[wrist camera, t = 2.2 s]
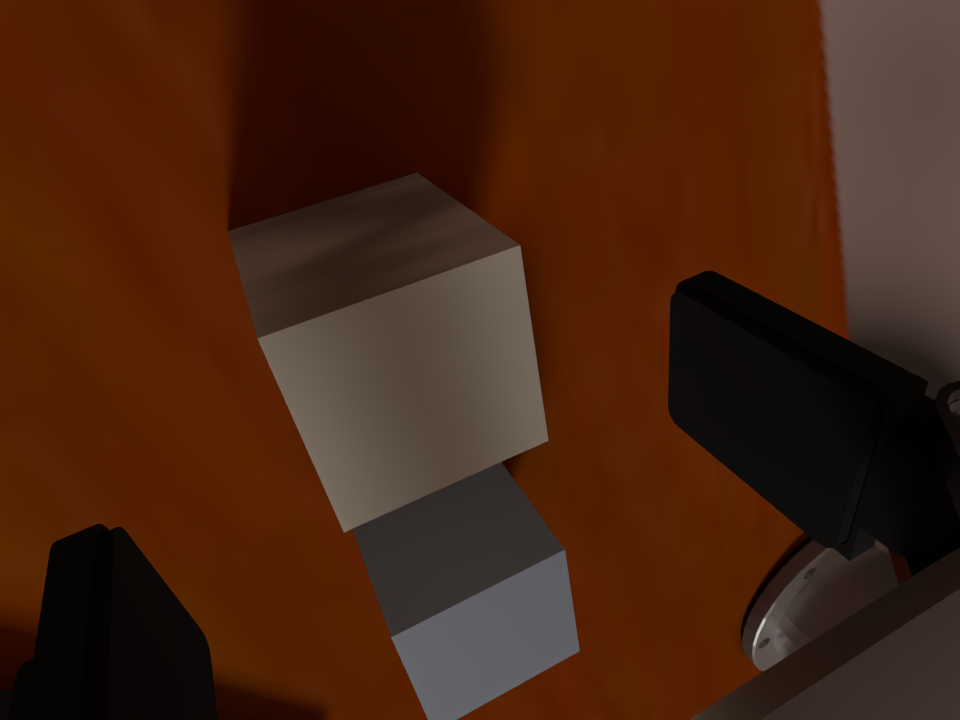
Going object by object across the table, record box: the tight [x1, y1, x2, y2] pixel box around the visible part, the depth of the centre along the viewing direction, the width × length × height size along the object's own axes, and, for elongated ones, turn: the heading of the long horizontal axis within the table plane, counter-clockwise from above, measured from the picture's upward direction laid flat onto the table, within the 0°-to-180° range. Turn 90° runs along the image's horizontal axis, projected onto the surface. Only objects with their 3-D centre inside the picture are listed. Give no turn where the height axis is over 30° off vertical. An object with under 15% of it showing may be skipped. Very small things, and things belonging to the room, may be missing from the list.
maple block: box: [228, 173, 548, 532], centre depth 15 cm, size 5×5×6 cm
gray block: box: [353, 462, 580, 720], centre depth 20 cm, size 5×5×6 cm
